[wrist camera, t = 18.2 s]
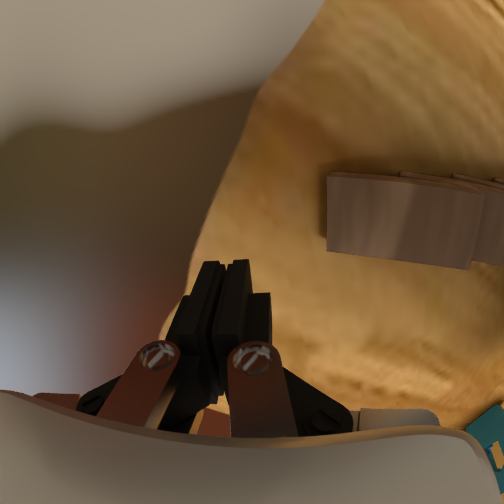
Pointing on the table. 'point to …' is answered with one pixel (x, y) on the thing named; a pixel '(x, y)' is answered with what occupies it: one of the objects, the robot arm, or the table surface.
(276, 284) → the table surface
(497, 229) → the walnut tile
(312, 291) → the table surface
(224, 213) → the table surface
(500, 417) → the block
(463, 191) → the walnut tile
